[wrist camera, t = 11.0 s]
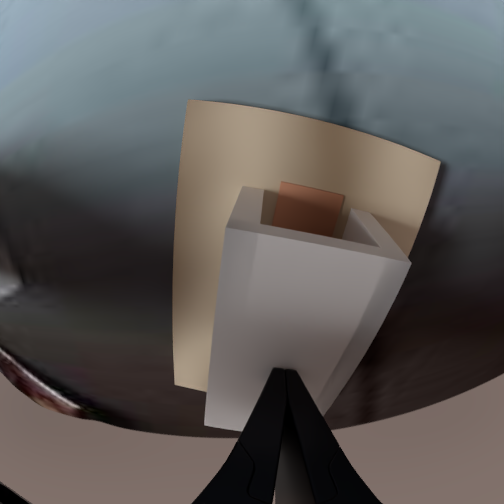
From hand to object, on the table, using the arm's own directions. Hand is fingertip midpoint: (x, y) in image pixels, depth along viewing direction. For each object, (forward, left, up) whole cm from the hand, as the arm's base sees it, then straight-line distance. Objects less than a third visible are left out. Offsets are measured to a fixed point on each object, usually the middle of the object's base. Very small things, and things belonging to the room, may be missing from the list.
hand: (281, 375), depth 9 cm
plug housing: (0, 0, -4) cm, 4 cm away
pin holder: (0, 0, -5) cm, 5 cm away
